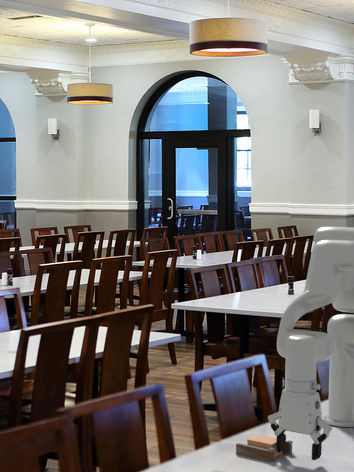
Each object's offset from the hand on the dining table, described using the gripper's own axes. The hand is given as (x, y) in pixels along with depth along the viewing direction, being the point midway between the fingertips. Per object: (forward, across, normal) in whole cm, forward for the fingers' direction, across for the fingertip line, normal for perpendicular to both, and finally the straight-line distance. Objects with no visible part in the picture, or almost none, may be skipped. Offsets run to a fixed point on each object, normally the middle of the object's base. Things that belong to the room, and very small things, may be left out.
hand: (298, 455), depth 211 cm
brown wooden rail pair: (+2, +10, 0) cm, 10 cm away
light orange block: (+2, +10, 0) cm, 10 cm away
